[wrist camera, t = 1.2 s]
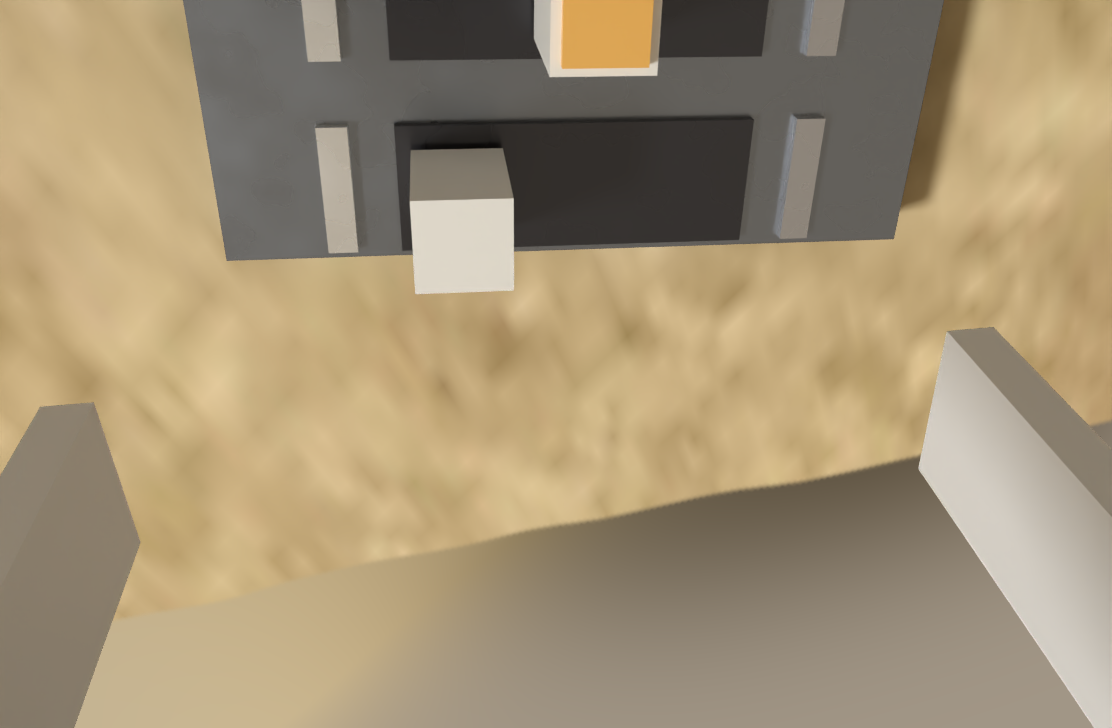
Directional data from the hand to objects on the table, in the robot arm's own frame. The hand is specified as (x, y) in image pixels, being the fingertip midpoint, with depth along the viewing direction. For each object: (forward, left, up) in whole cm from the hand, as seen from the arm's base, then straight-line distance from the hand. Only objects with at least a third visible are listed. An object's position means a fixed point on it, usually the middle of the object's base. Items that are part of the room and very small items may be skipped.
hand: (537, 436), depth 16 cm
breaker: (+3, -1, -19) cm, 19 cm away
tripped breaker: (-3, +3, -19) cm, 19 cm away
